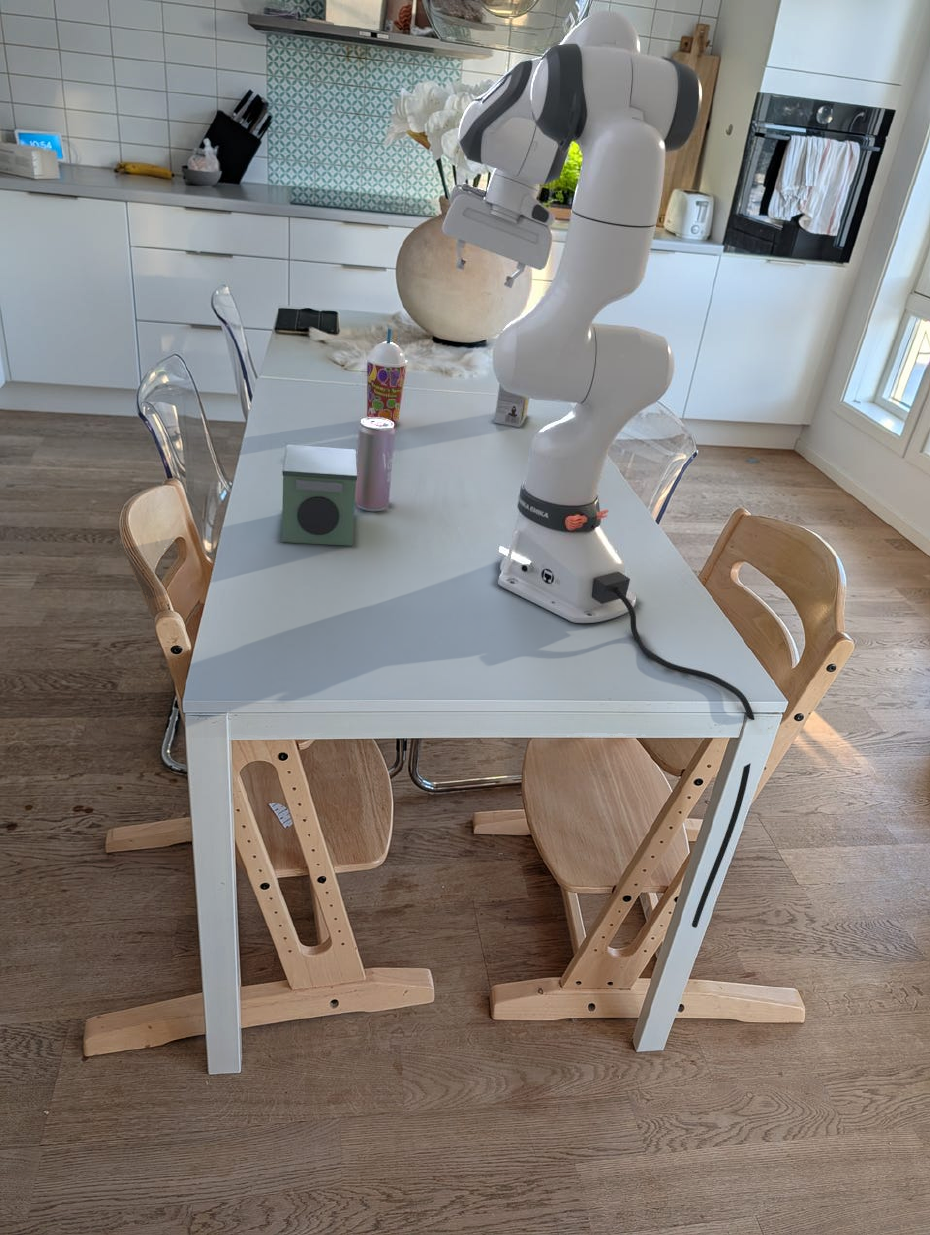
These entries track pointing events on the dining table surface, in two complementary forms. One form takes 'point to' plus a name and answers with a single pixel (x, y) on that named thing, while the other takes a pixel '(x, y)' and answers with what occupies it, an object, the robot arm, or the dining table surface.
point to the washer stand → (318, 495)
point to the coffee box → (510, 408)
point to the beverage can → (374, 463)
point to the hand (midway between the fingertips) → (483, 277)
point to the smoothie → (385, 380)
